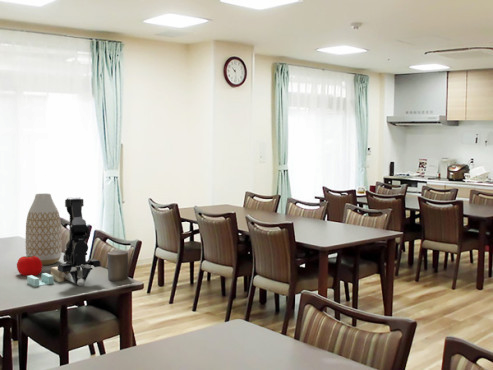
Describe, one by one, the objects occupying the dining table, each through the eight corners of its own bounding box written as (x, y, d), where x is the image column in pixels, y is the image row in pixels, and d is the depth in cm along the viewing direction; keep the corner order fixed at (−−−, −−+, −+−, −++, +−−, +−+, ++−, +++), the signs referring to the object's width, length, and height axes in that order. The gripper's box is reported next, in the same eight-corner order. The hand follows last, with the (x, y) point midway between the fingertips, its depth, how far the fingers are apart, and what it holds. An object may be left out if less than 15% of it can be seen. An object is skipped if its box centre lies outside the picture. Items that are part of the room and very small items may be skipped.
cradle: (46, 281, 261) (46, 272, 261) (53, 284, 255) (53, 276, 255) (27, 284, 255) (27, 275, 254) (34, 288, 249) (34, 279, 249)
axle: (62, 279, 261) (62, 272, 261) (68, 278, 264) (69, 271, 263) (78, 286, 250) (78, 279, 250) (84, 285, 252) (85, 278, 252)
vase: (51, 267, 289) (50, 196, 286) (19, 266, 292) (17, 195, 288) (68, 260, 307) (67, 193, 304) (37, 258, 310) (36, 192, 307)
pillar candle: (132, 280, 266) (132, 249, 265) (115, 283, 259) (114, 252, 258) (120, 276, 272) (120, 246, 271) (103, 280, 265) (103, 249, 264)
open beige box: (68, 276, 270) (68, 264, 270) (77, 280, 264) (76, 268, 264) (50, 279, 264) (50, 267, 264) (59, 283, 258) (59, 271, 257)
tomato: (35, 279, 265) (34, 258, 264) (11, 277, 268) (11, 257, 267) (47, 273, 276) (47, 253, 275) (25, 272, 279) (25, 252, 278)
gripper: (89, 245, 263) (89, 277, 265) (52, 250, 250) (52, 283, 252) (100, 248, 255) (101, 281, 257) (63, 254, 243) (63, 288, 244)
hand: (79, 283), depth 252 cm, fingers closed on axle, 3 cm apart
